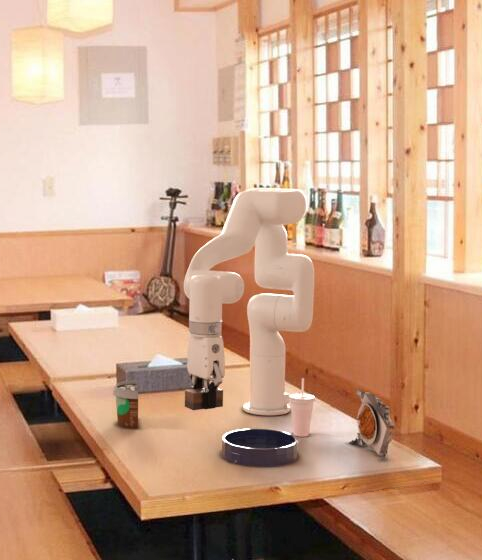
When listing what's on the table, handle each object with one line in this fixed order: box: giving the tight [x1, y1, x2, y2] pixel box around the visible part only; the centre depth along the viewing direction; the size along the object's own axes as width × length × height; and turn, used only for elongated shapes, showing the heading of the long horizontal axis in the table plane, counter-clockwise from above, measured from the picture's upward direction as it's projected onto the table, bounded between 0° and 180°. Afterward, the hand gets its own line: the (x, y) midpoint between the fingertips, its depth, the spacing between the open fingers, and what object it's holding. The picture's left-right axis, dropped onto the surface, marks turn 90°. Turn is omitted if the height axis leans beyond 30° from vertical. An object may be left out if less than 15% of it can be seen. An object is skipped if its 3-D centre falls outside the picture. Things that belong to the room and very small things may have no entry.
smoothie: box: [289, 377, 316, 438], centre depth 259 cm, size 6×6×14 cm
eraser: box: [184, 387, 224, 411], centre depth 244 cm, size 8×4×4 cm, turn 120°
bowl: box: [221, 428, 299, 468], centre depth 241 cm, size 17×17×4 cm
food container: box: [112, 380, 139, 430], centre depth 267 cm, size 12×6×10 cm, turn 5°
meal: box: [348, 389, 395, 461], centre depth 245 cm, size 15×4×13 cm, turn 19°
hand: (204, 405), depth 244 cm, fingers closed on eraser, 4 cm apart
